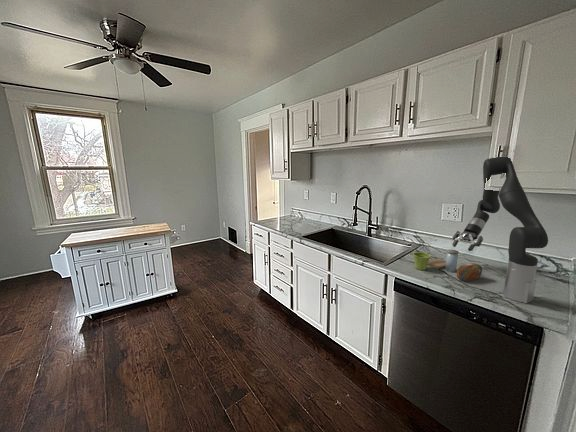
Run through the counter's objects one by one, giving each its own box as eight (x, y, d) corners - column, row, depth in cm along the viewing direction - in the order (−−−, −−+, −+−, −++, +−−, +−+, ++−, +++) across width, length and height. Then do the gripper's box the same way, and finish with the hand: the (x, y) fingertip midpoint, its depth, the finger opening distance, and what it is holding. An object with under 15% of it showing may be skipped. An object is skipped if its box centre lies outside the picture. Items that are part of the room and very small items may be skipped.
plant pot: (411, 270, 143) (413, 256, 141) (411, 264, 151) (412, 251, 149) (430, 272, 139) (431, 258, 137) (428, 266, 147) (430, 253, 145)
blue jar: (458, 271, 139) (460, 251, 137) (452, 273, 137) (454, 253, 135) (448, 267, 144) (450, 248, 142) (442, 269, 142) (444, 250, 140)
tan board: (452, 265, 148) (452, 263, 147) (439, 269, 143) (439, 267, 142) (436, 260, 156) (436, 258, 156) (423, 263, 152) (424, 261, 151)
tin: (460, 282, 126) (461, 267, 125) (454, 279, 129) (456, 265, 128) (481, 278, 130) (483, 263, 128) (475, 275, 133) (477, 261, 131)
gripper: (460, 221, 149) (446, 241, 146) (486, 225, 136) (472, 248, 134) (464, 228, 152) (451, 248, 149) (490, 233, 139) (476, 255, 137)
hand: (461, 248), depth 141 cm, fingers open, 8 cm apart
